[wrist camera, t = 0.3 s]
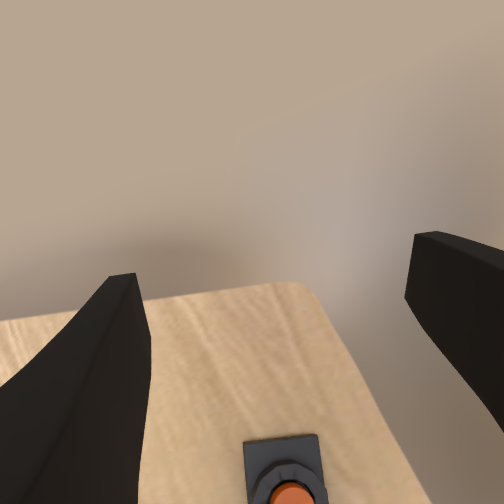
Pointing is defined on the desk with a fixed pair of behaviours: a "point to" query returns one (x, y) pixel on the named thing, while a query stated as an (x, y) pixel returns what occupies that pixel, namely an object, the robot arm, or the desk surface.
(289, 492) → the button
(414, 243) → the robot arm
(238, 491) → the desk surface
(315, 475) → the control block
